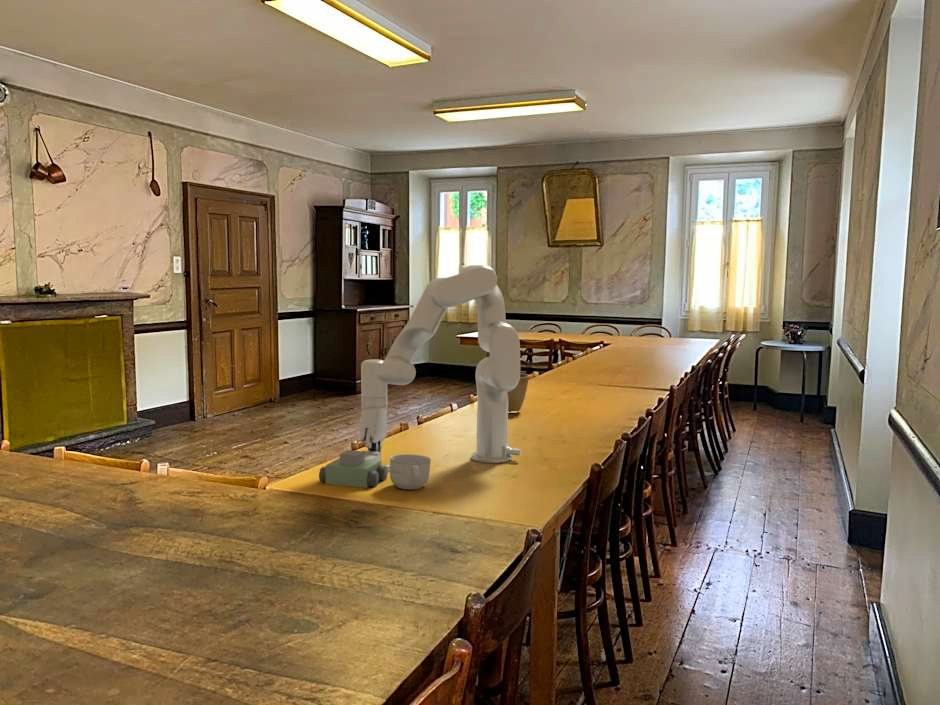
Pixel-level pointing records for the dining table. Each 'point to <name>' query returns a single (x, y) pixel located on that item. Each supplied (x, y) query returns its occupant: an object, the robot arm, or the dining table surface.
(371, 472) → the toy car
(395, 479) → the teacup
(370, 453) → the light grey box
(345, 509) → the dining table surface
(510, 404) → the plant pot
